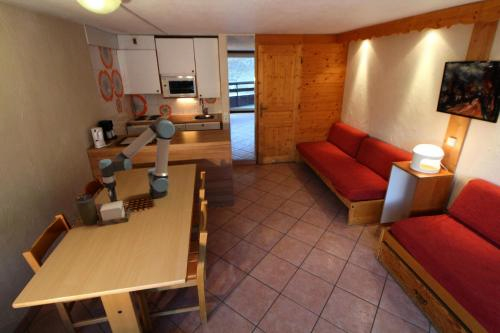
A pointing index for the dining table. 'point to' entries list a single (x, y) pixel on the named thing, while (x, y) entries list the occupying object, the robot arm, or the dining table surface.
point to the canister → (87, 209)
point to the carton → (112, 210)
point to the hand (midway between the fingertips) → (116, 209)
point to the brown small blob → (99, 205)
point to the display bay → (114, 221)
